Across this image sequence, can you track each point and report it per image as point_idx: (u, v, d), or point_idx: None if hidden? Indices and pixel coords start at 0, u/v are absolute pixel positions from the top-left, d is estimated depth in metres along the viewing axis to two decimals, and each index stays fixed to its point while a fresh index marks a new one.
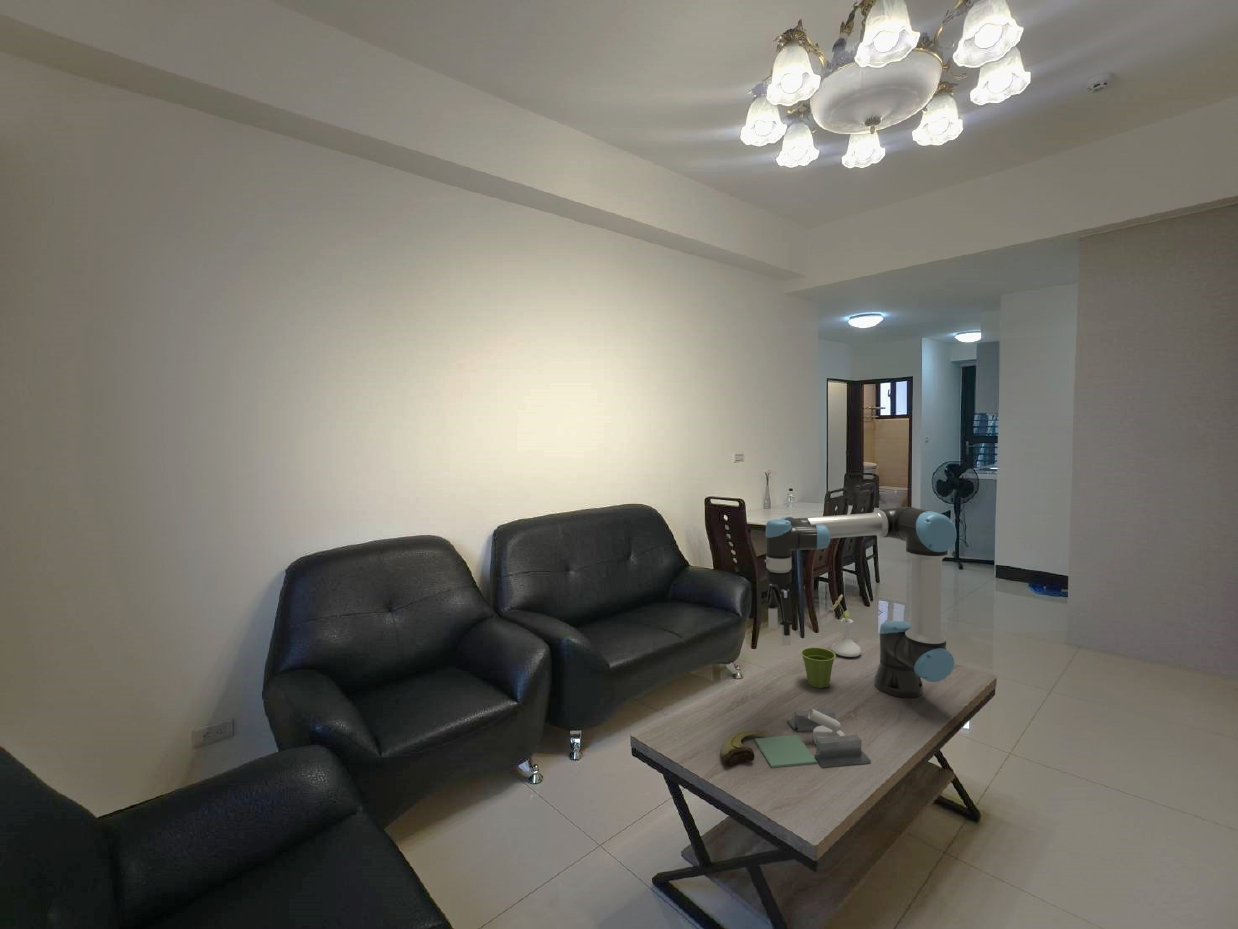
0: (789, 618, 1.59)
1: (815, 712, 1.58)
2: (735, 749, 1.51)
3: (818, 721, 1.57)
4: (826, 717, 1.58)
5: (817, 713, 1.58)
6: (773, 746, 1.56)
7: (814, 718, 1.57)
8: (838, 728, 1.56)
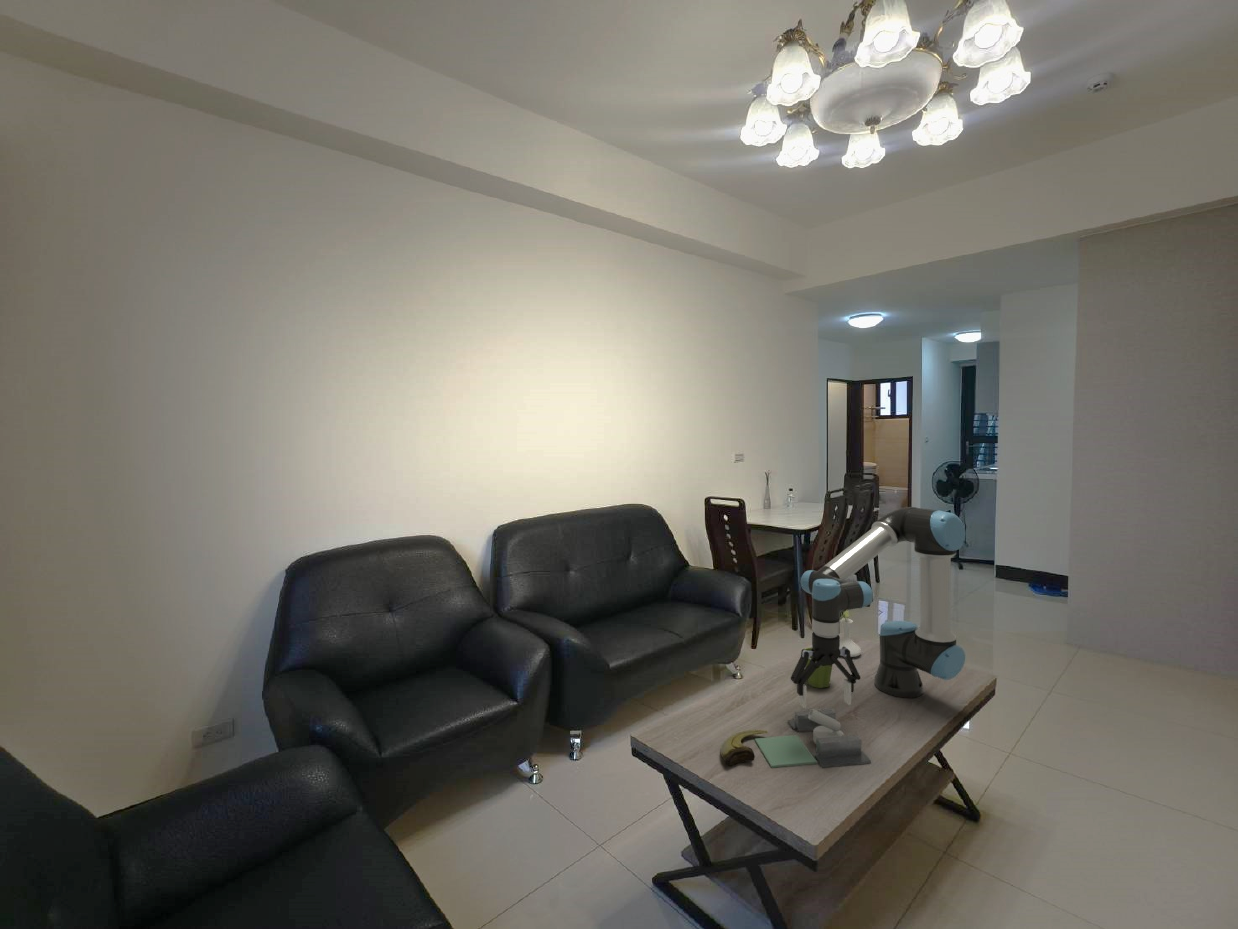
0: (794, 676, 1.56)
1: (815, 712, 1.58)
2: (735, 749, 1.51)
3: (818, 721, 1.57)
4: (826, 717, 1.58)
5: (817, 713, 1.58)
6: (773, 746, 1.56)
7: (814, 718, 1.57)
8: (838, 728, 1.56)
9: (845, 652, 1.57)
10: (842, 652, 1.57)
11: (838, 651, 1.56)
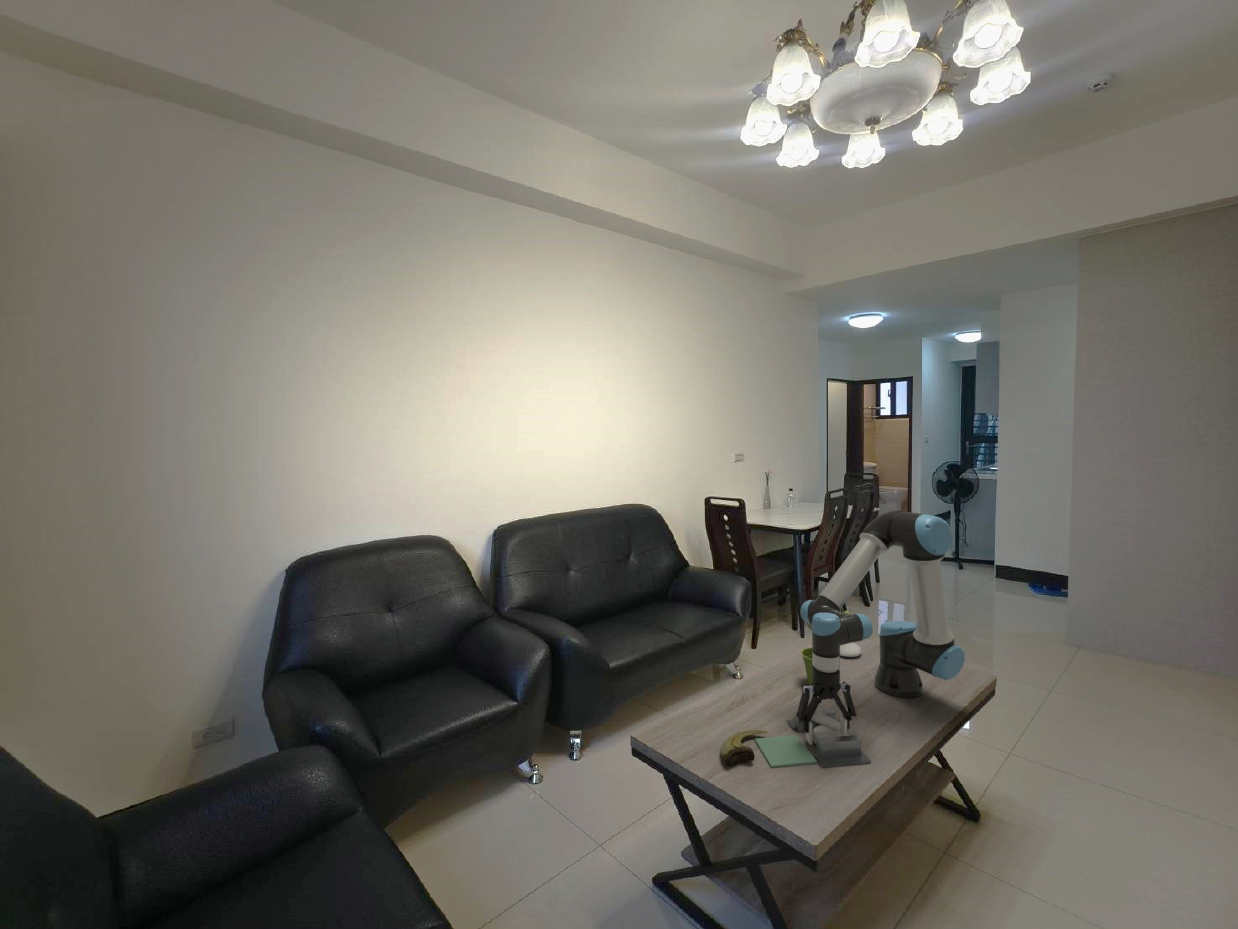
0: (799, 713, 1.57)
1: (815, 712, 1.58)
2: (735, 749, 1.51)
3: (818, 721, 1.57)
4: (826, 717, 1.58)
5: (817, 713, 1.58)
6: (773, 746, 1.56)
7: (814, 718, 1.57)
8: (838, 728, 1.56)
9: (845, 687, 1.57)
10: (842, 687, 1.58)
11: (839, 685, 1.57)
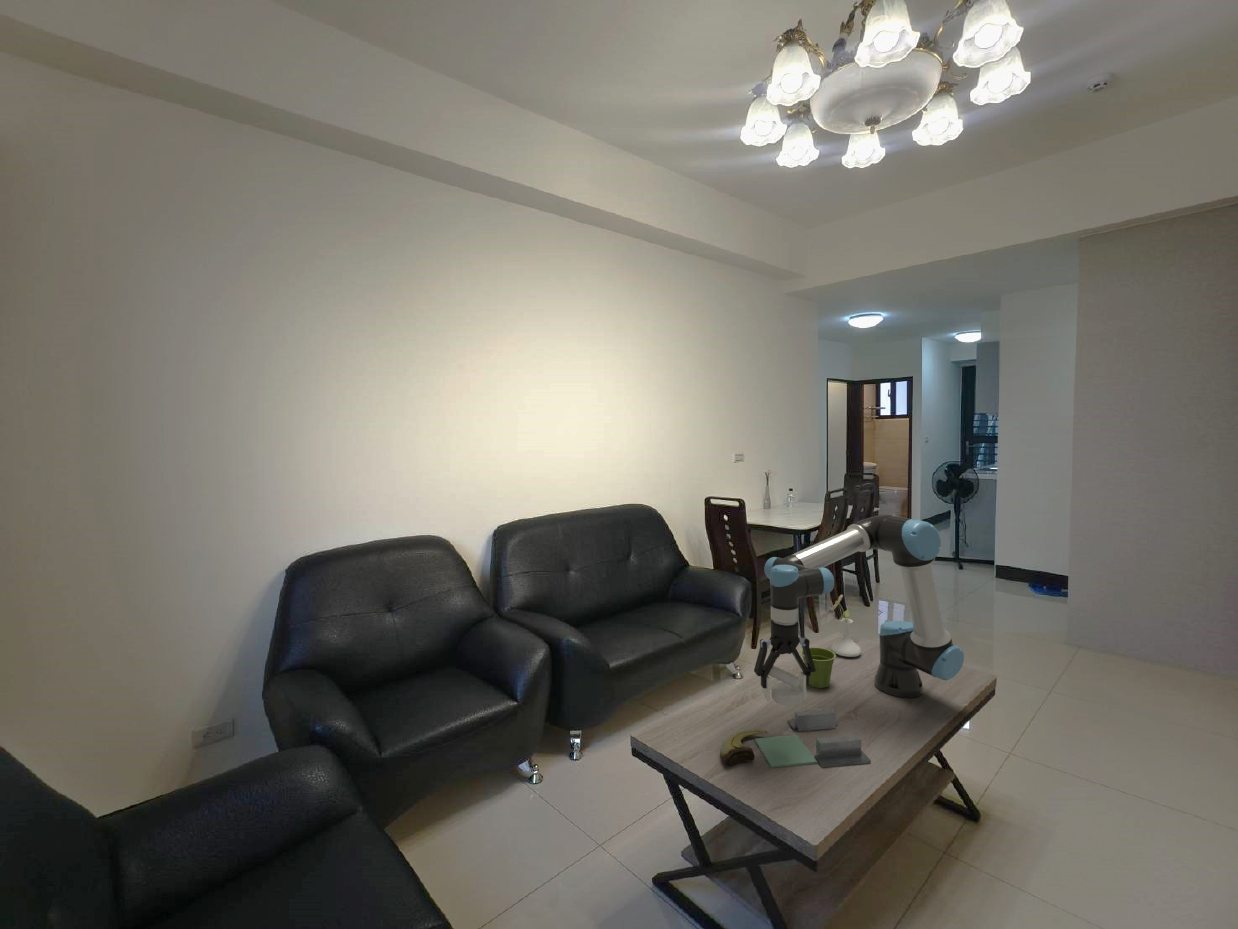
0: (756, 668, 1.52)
1: (773, 667, 1.53)
2: (735, 749, 1.51)
3: (776, 676, 1.52)
4: (784, 672, 1.52)
5: (775, 668, 1.53)
6: (773, 746, 1.56)
7: (772, 673, 1.52)
8: (796, 683, 1.51)
9: (804, 641, 1.52)
10: (801, 641, 1.52)
11: (797, 639, 1.51)
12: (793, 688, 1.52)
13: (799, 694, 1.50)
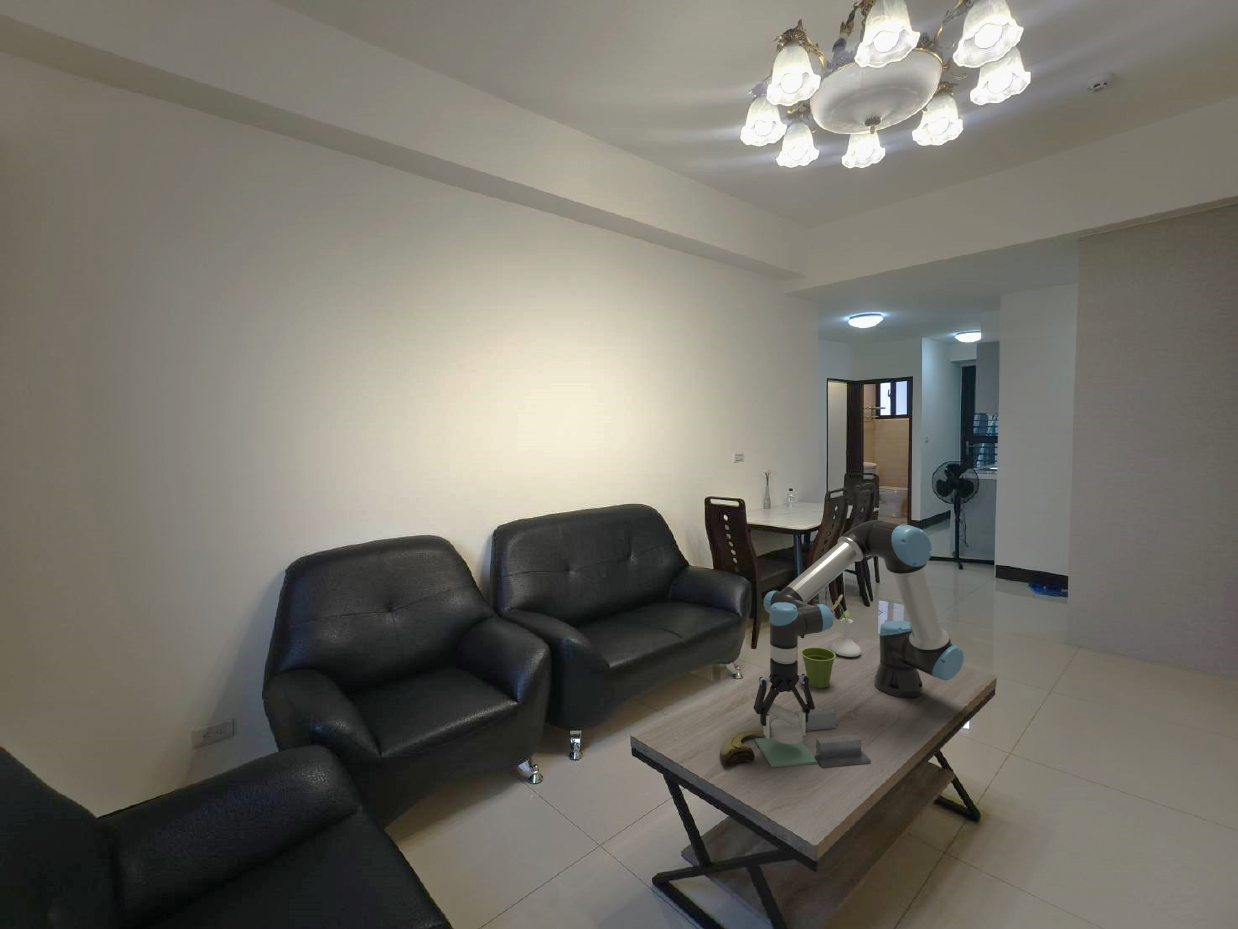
0: (756, 706, 1.52)
1: (772, 705, 1.53)
2: (735, 749, 1.51)
3: (775, 714, 1.53)
4: (784, 710, 1.53)
5: (775, 706, 1.53)
6: (773, 746, 1.56)
7: (771, 711, 1.53)
8: (796, 721, 1.52)
9: (804, 679, 1.53)
10: (800, 679, 1.53)
11: (797, 677, 1.52)
12: (792, 726, 1.53)
13: (798, 732, 1.51)
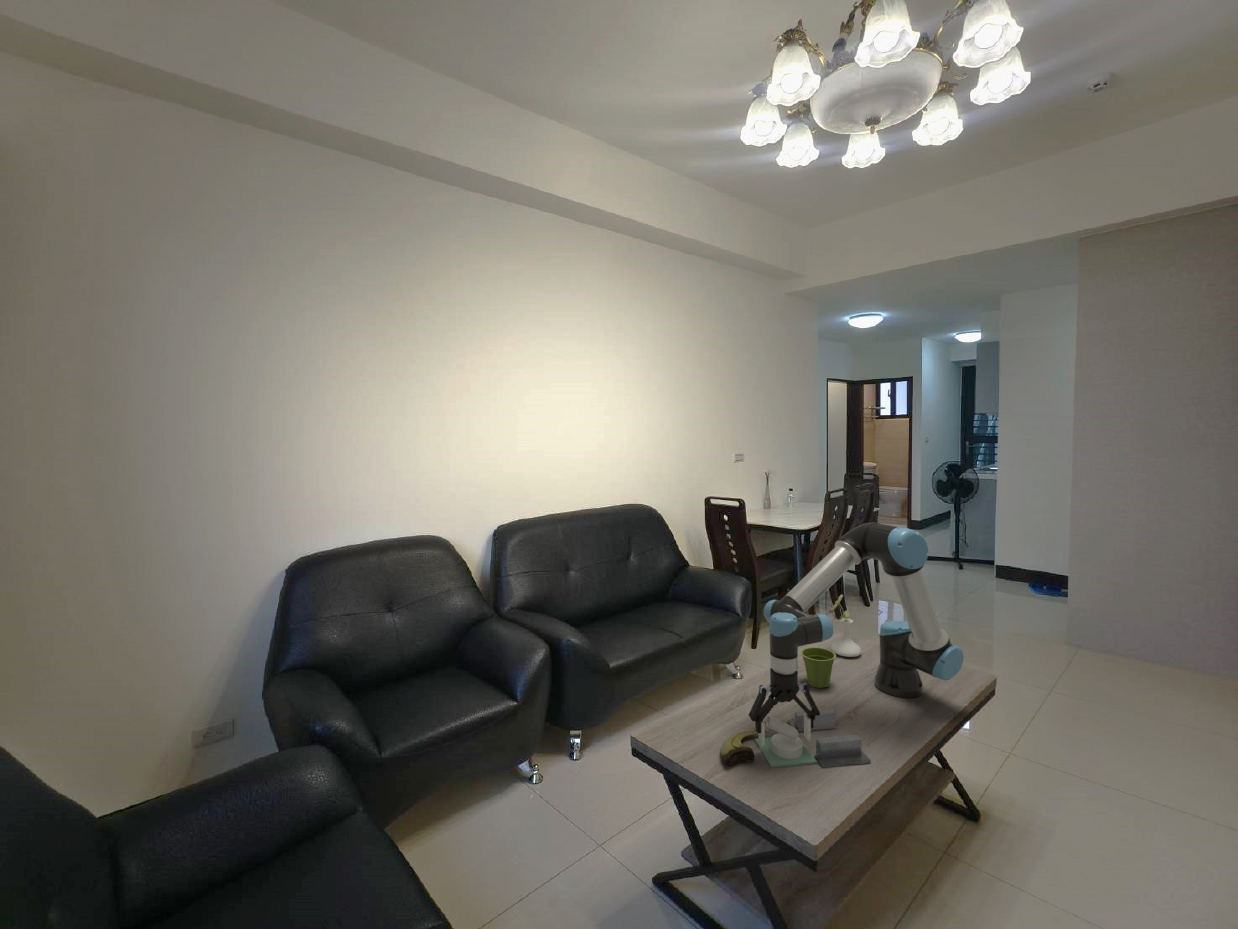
0: (752, 713, 1.52)
1: (772, 719, 1.54)
2: (735, 749, 1.51)
3: (775, 729, 1.53)
4: (784, 724, 1.53)
5: (774, 720, 1.53)
6: None
7: (771, 725, 1.53)
8: (796, 736, 1.52)
9: (804, 688, 1.53)
10: (801, 688, 1.53)
11: (797, 687, 1.52)
12: (792, 740, 1.53)
13: (798, 747, 1.51)
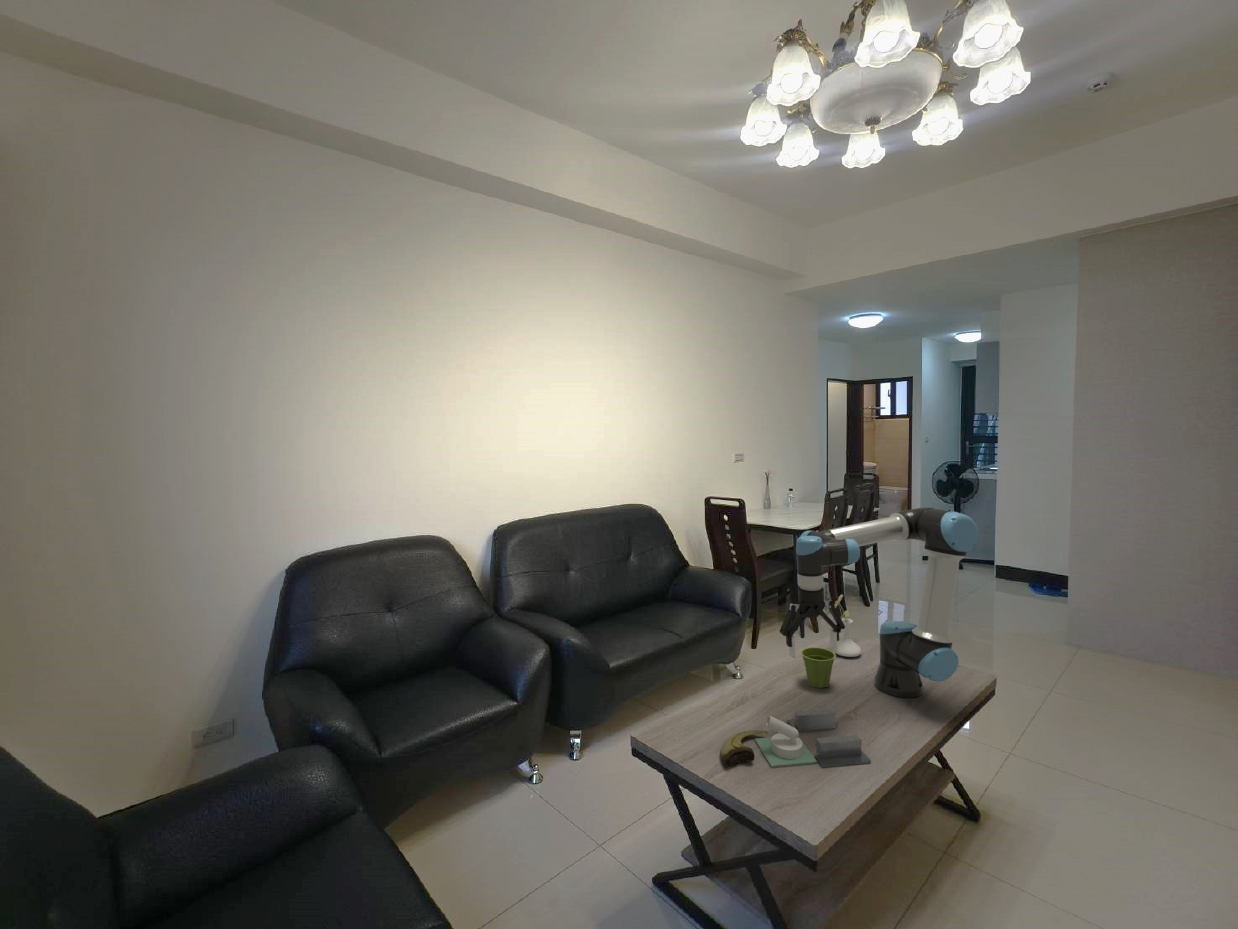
0: (783, 628, 1.65)
1: (772, 719, 1.54)
2: (735, 749, 1.51)
3: (775, 729, 1.53)
4: (784, 724, 1.53)
5: (774, 720, 1.54)
6: None
7: (771, 725, 1.53)
8: (796, 736, 1.52)
9: (829, 603, 1.66)
10: (826, 604, 1.66)
11: (823, 603, 1.65)
12: (792, 740, 1.53)
13: (798, 747, 1.51)
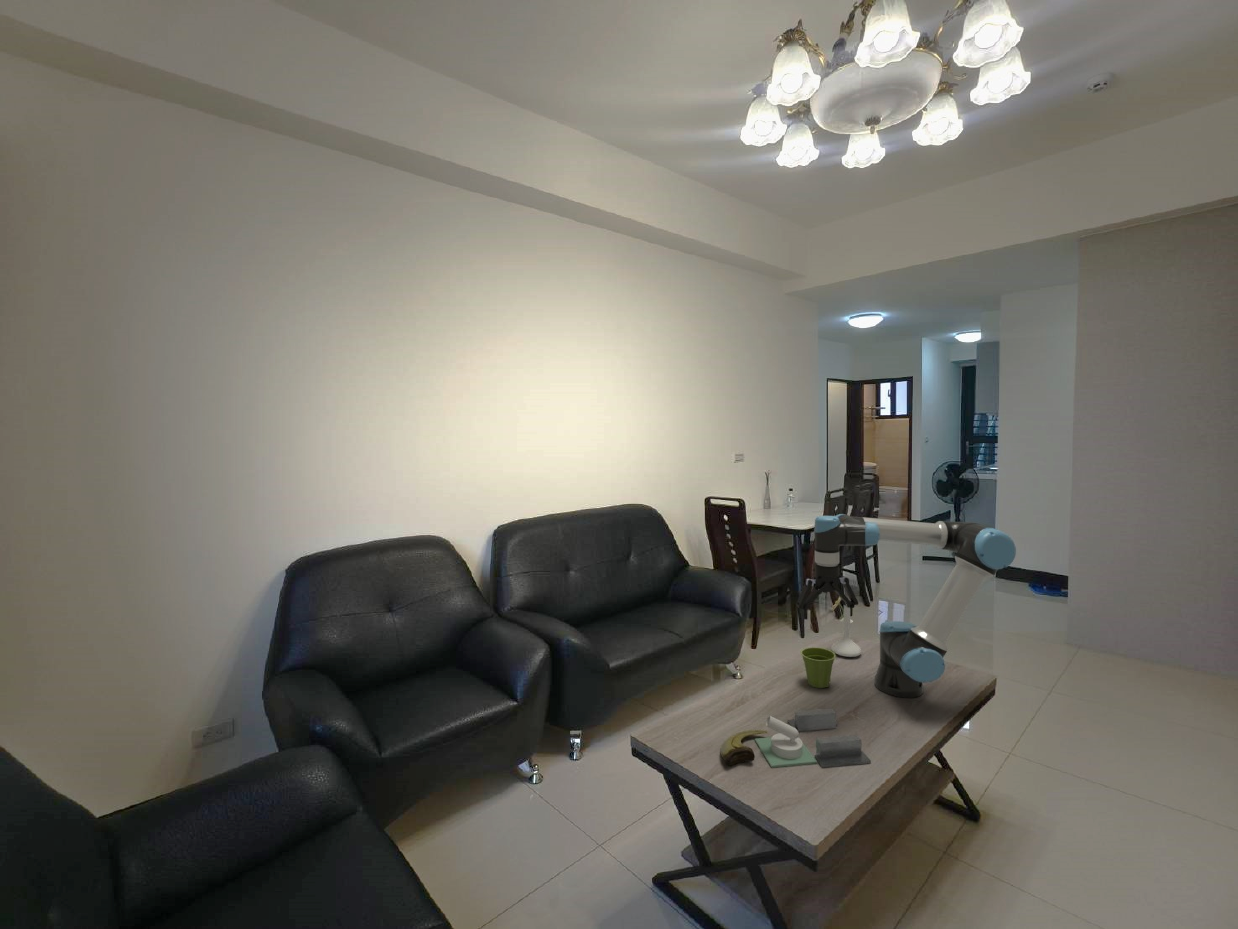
0: (799, 602, 1.75)
1: (772, 719, 1.54)
2: (735, 749, 1.51)
3: (775, 729, 1.53)
4: (784, 724, 1.53)
5: (774, 720, 1.54)
6: None
7: (771, 725, 1.53)
8: (796, 736, 1.52)
9: (844, 580, 1.75)
10: (841, 580, 1.76)
11: (838, 579, 1.75)
12: (792, 740, 1.53)
13: (798, 747, 1.51)
